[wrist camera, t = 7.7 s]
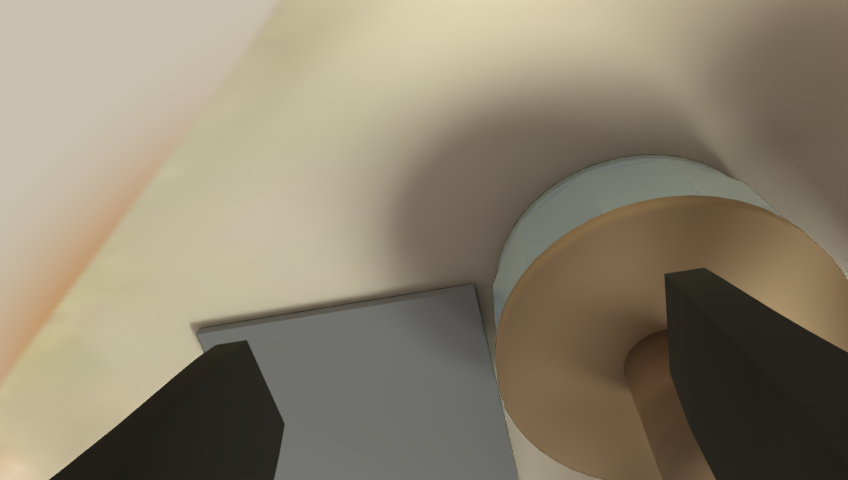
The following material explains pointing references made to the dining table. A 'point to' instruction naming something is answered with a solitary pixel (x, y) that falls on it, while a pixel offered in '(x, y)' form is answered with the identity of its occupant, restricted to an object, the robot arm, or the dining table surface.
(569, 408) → the lid
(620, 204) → the bowl
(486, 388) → the mat
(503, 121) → the dining table surface
